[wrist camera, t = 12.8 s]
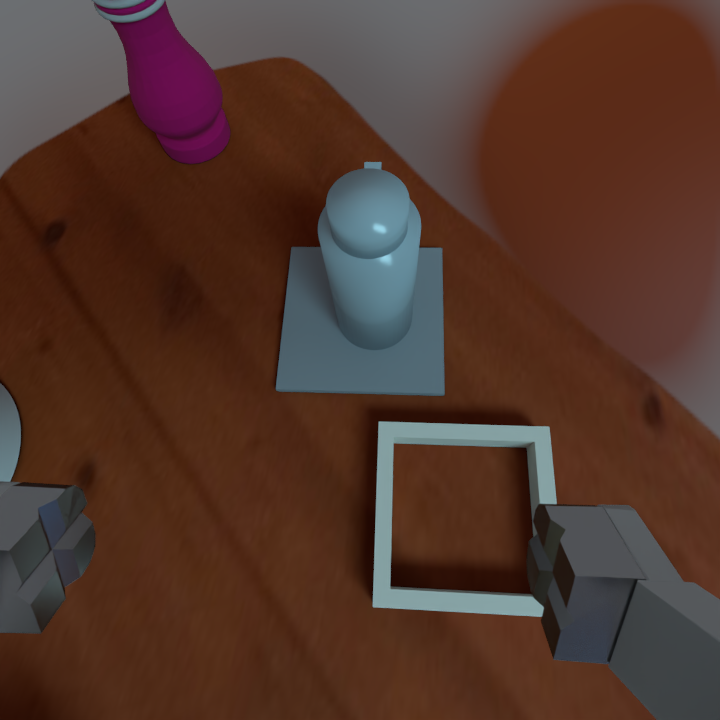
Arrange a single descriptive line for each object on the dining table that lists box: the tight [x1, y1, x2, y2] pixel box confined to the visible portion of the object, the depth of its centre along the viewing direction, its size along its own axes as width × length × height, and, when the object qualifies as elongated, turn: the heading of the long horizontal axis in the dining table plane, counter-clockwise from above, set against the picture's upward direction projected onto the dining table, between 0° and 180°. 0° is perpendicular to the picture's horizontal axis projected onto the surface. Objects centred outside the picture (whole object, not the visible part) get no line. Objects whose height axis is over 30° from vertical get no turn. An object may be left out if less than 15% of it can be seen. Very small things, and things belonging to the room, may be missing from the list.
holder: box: [373, 422, 557, 617], centre depth 31 cm, size 11×11×2 cm
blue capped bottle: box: [318, 162, 421, 350], centre depth 31 cm, size 6×8×13 cm
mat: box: [276, 247, 444, 396], centre depth 37 cm, size 12×12×1 cm
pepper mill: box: [92, 0, 230, 164], centre depth 36 cm, size 7×7×20 cm
